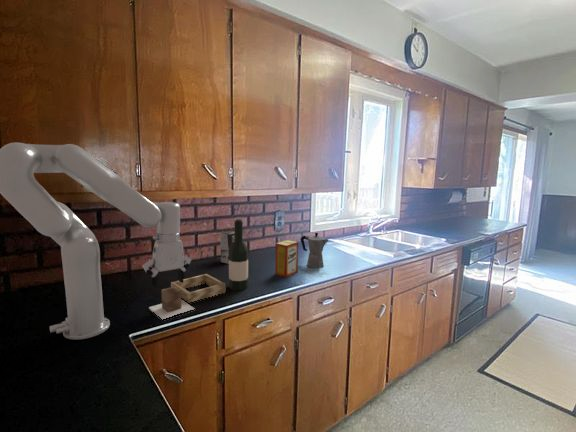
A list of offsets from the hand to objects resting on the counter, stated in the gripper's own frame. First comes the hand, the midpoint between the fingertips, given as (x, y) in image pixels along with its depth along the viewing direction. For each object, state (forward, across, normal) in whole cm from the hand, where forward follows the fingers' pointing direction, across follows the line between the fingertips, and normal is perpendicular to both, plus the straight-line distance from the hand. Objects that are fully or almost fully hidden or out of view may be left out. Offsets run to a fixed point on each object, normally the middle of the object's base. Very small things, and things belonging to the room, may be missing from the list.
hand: (167, 284), depth 115 cm
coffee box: (+8, +50, +35) cm, 62 cm away
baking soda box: (+7, +60, +1) cm, 61 cm away
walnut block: (+9, +2, 0) cm, 9 cm away
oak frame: (+9, +17, +8) cm, 21 cm away
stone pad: (+10, +2, 0) cm, 10 cm away
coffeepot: (+6, +80, +1) cm, 81 cm away
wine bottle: (+9, +33, +2) cm, 34 cm away
